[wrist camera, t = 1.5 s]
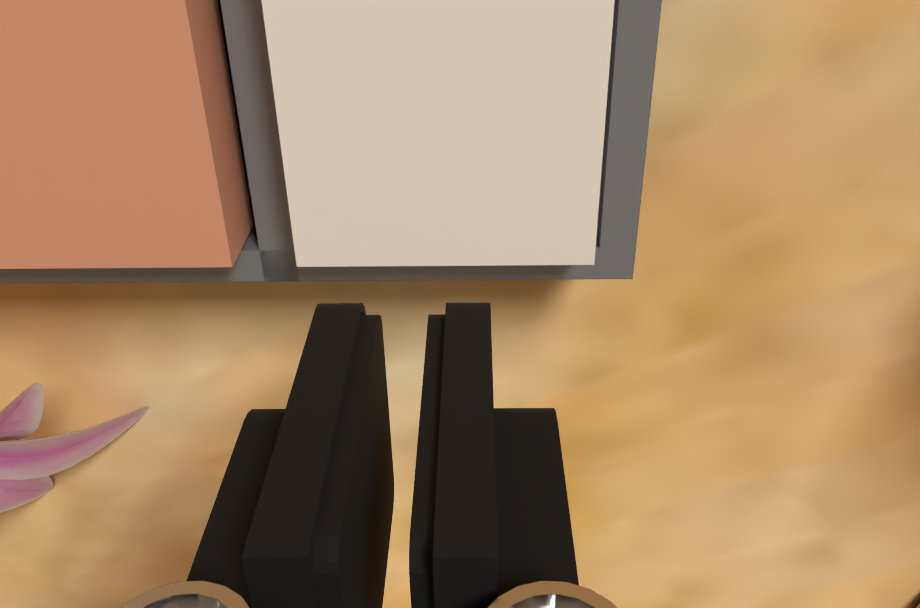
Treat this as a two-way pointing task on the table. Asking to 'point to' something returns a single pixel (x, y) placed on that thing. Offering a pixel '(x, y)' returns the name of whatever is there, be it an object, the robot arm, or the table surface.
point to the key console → (275, 261)
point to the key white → (441, 129)
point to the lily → (44, 448)
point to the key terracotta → (118, 136)
